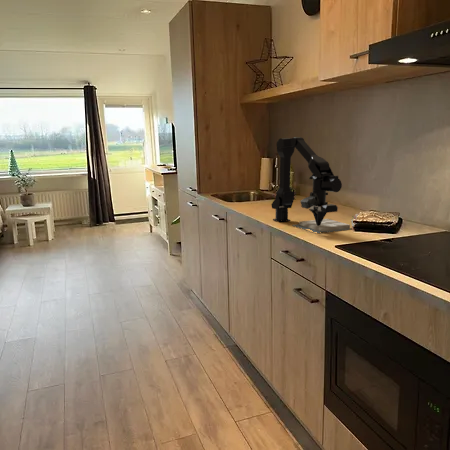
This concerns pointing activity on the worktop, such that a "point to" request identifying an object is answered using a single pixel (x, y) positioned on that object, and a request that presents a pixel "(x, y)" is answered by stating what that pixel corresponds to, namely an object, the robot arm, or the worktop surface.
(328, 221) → the grey flat block
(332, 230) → the underlay mat
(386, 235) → the worktop surface
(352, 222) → the packaged product
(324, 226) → the loose plank
